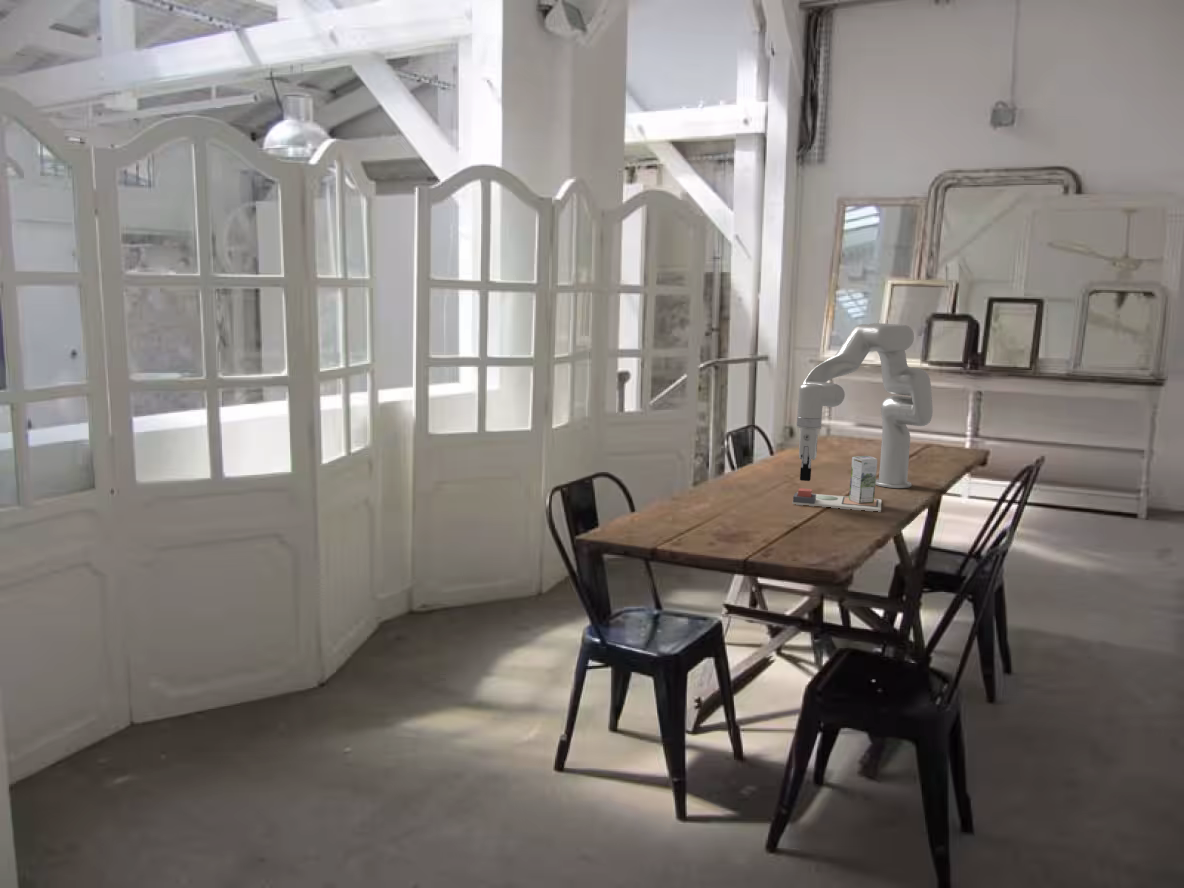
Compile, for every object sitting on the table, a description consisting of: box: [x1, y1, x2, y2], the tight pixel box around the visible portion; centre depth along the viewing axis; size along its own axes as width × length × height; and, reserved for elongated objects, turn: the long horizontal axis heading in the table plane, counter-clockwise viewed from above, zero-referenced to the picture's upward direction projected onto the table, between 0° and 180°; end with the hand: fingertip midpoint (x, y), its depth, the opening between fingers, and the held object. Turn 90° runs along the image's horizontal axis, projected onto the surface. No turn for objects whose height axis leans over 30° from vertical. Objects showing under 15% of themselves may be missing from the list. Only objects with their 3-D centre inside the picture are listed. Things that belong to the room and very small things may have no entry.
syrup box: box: [848, 455, 878, 503], centre depth 312 cm, size 6×6×14 cm
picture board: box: [791, 492, 882, 513], centre depth 314 cm, size 16×27×3 cm, turn 73°
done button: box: [797, 487, 813, 497], centre depth 313 cm, size 4×4×2 cm
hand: (805, 480), depth 312 cm, fingers closed
